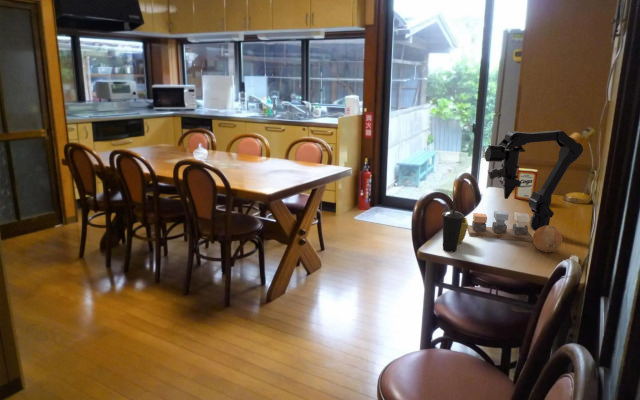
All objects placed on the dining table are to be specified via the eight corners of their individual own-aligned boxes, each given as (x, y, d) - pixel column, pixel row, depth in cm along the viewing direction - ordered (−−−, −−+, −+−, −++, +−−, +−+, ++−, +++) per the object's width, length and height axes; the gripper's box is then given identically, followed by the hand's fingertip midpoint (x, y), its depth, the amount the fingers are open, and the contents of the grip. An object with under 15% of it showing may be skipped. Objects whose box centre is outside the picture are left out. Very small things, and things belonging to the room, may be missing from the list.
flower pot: (465, 246, 180) (468, 223, 177) (441, 244, 181) (444, 221, 179) (463, 239, 188) (466, 217, 186) (441, 236, 190) (443, 215, 187)
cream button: (525, 225, 194) (527, 213, 192) (528, 229, 189) (530, 216, 188) (513, 224, 195) (514, 212, 193) (515, 228, 190) (517, 215, 189)
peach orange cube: (484, 226, 197) (485, 214, 196) (485, 229, 193) (487, 217, 191) (472, 225, 198) (473, 213, 197) (473, 228, 193) (474, 216, 192)
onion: (551, 246, 182) (555, 221, 180) (565, 256, 173) (569, 230, 170) (526, 246, 182) (530, 221, 179) (539, 255, 172) (543, 229, 170)
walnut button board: (526, 233, 197) (528, 223, 196) (532, 241, 188) (534, 230, 186) (466, 228, 201) (468, 218, 200) (469, 235, 192) (470, 225, 191)
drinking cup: (436, 246, 179) (441, 194, 174) (455, 246, 179) (461, 194, 174) (442, 253, 171) (448, 200, 166) (463, 253, 172) (469, 200, 167)
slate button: (504, 224, 195) (506, 211, 194) (506, 227, 191) (508, 214, 189) (492, 223, 196) (494, 210, 195) (494, 226, 192) (496, 213, 190)
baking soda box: (514, 198, 256) (518, 169, 252) (514, 195, 261) (518, 167, 257) (533, 200, 252) (537, 171, 248) (533, 198, 258) (538, 169, 254)
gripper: (487, 157, 206) (483, 192, 210) (493, 164, 189) (489, 202, 193) (514, 158, 204) (509, 194, 208) (523, 166, 187) (518, 204, 191)
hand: (505, 198), depth 200 cm, fingers closed
